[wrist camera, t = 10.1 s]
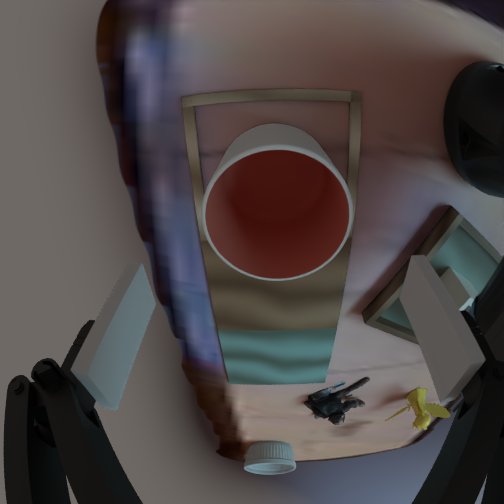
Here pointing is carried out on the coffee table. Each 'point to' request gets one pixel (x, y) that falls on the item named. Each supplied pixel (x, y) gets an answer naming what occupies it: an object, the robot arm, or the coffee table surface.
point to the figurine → (423, 409)
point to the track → (275, 292)
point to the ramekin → (270, 458)
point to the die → (459, 289)
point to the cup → (276, 205)
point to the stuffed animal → (334, 402)
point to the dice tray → (436, 270)
